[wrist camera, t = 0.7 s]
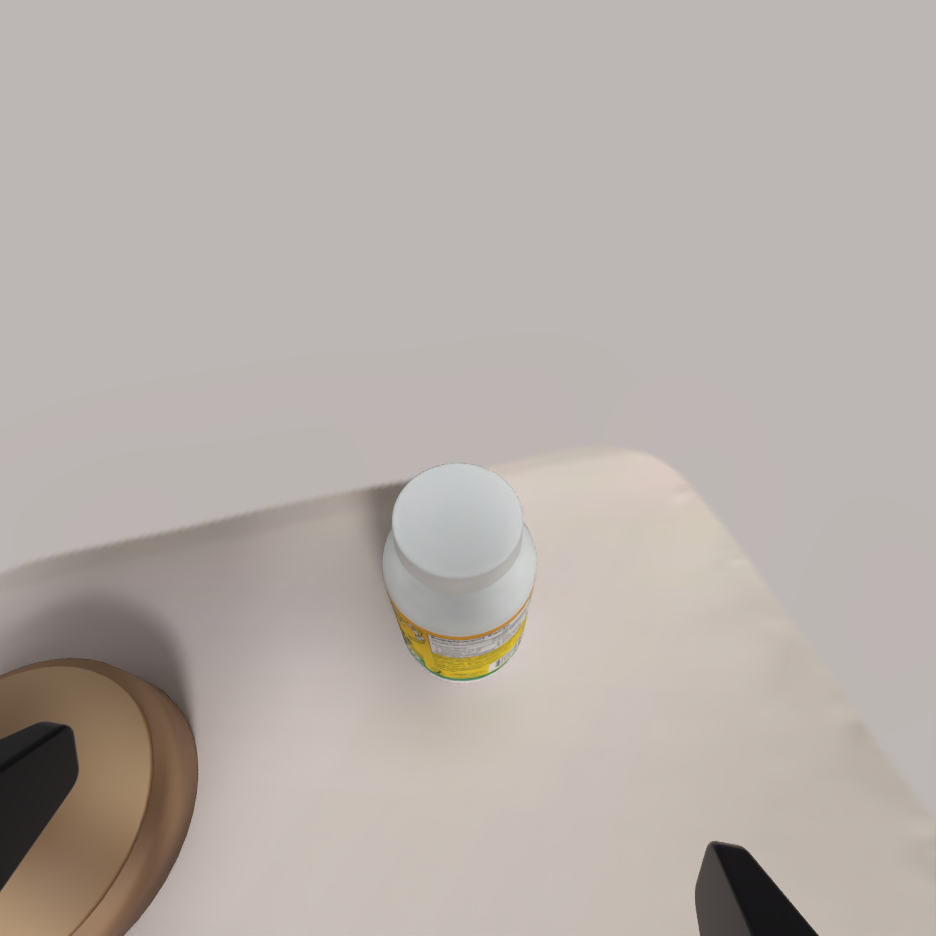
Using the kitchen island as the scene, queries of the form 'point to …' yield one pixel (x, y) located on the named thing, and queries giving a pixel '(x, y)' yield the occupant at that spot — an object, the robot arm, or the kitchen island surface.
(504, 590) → the supplement bottle
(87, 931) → the pedestal
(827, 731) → the kitchen island surface
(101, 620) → the kitchen island surface
